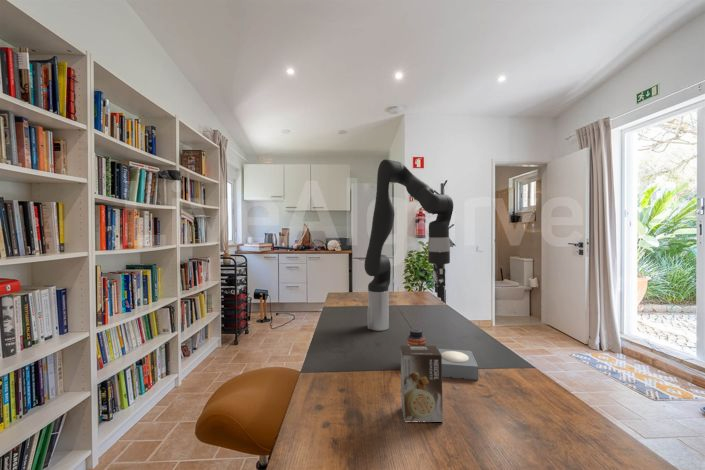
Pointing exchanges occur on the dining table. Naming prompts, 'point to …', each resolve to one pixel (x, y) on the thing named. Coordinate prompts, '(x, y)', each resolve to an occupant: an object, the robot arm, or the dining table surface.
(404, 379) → the coffee box
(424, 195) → the robot arm
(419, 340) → the supplement bottle
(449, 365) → the base block
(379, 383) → the dining table surface
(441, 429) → the dining table surface
